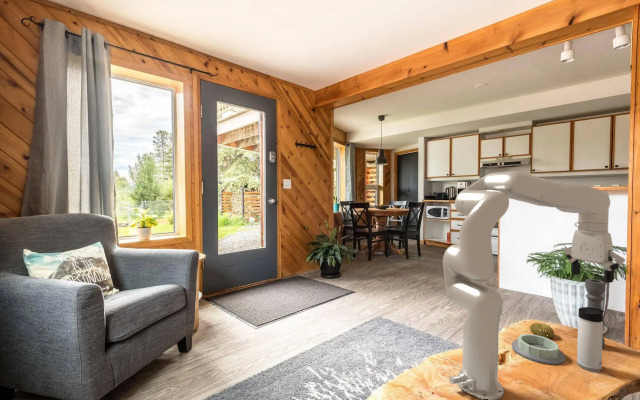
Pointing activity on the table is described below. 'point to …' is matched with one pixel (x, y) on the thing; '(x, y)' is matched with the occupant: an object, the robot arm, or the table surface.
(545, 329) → the sculpture
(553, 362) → the mug dock
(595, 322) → the travel mug
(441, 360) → the table surface
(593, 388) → the table surface
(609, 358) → the table surface
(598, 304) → the candle holder
